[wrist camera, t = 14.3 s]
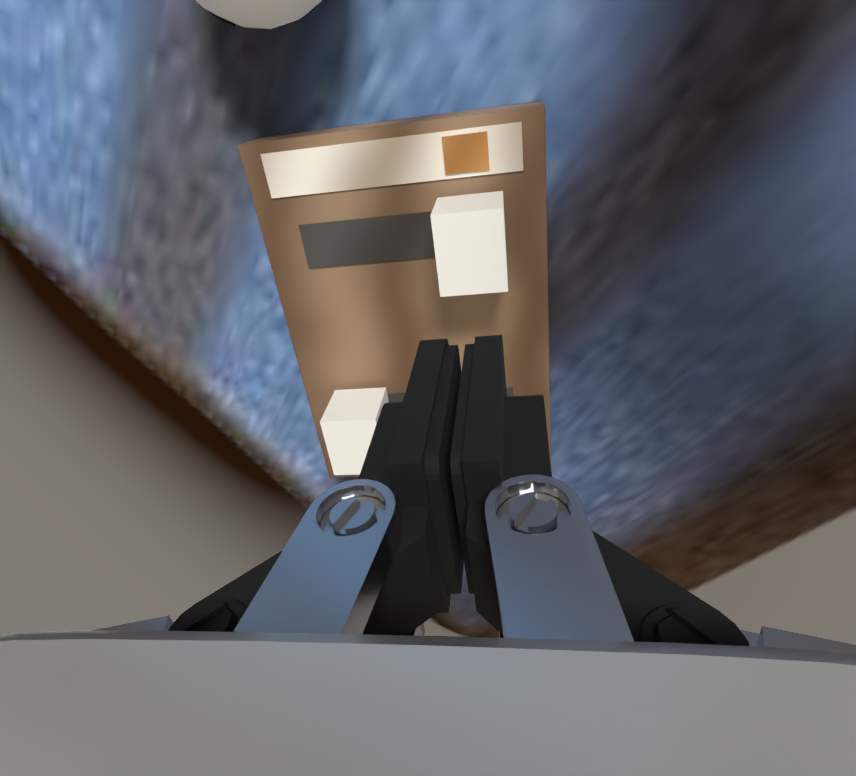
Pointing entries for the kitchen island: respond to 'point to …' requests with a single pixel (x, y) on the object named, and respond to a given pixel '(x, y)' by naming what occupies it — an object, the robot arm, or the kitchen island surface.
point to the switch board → (401, 245)
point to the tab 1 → (351, 426)
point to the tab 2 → (470, 244)
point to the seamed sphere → (259, 11)
